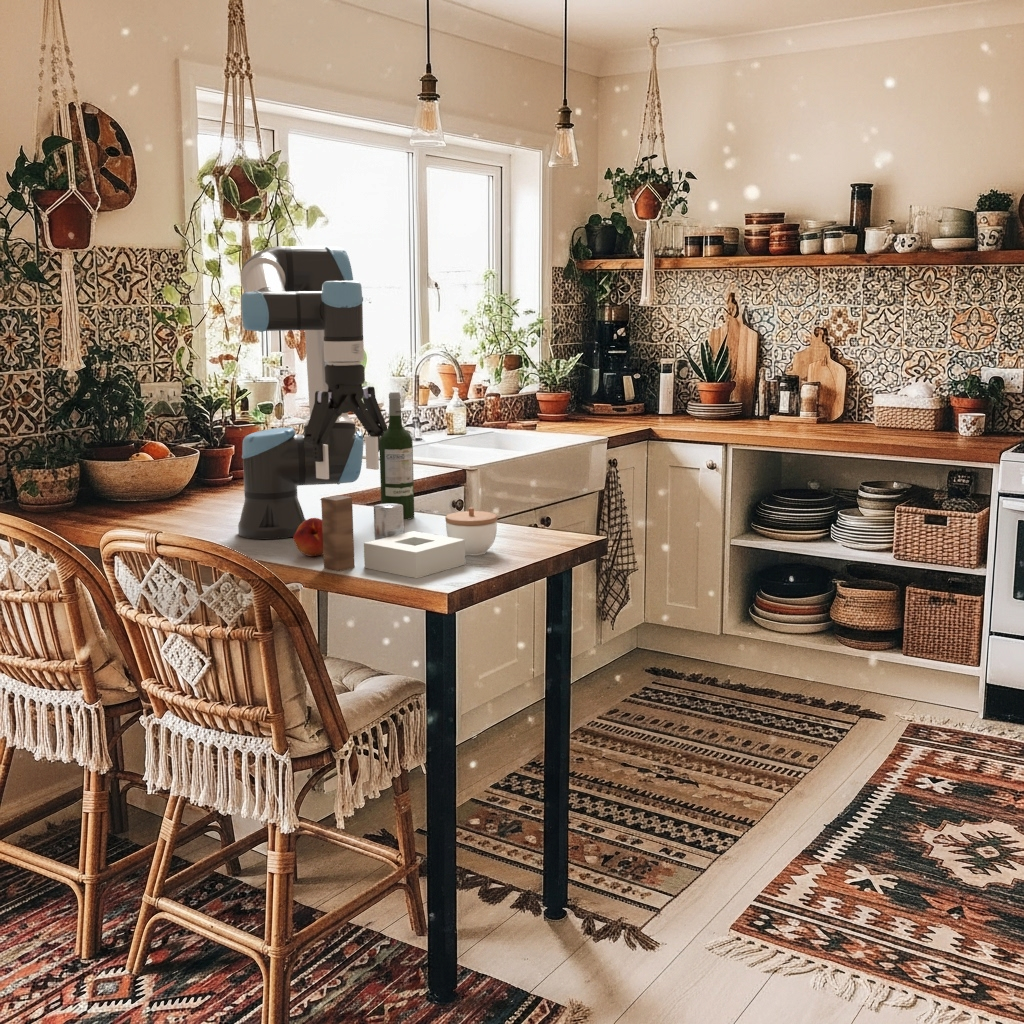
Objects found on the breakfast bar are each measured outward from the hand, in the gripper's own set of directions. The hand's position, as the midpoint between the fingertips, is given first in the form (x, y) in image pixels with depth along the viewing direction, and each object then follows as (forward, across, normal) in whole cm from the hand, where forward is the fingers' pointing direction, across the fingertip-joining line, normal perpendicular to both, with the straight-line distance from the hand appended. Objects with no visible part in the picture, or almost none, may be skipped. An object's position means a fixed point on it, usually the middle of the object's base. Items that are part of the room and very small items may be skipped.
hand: (348, 473), depth 220 cm
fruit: (+19, +2, +13) cm, 23 cm away
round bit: (+19, +13, +2) cm, 23 cm away
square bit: (+19, -2, +1) cm, 19 cm away
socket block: (+18, +8, -10) cm, 22 cm away
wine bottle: (+19, +43, +27) cm, 54 cm away
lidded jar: (+19, +24, -12) cm, 32 cm away
